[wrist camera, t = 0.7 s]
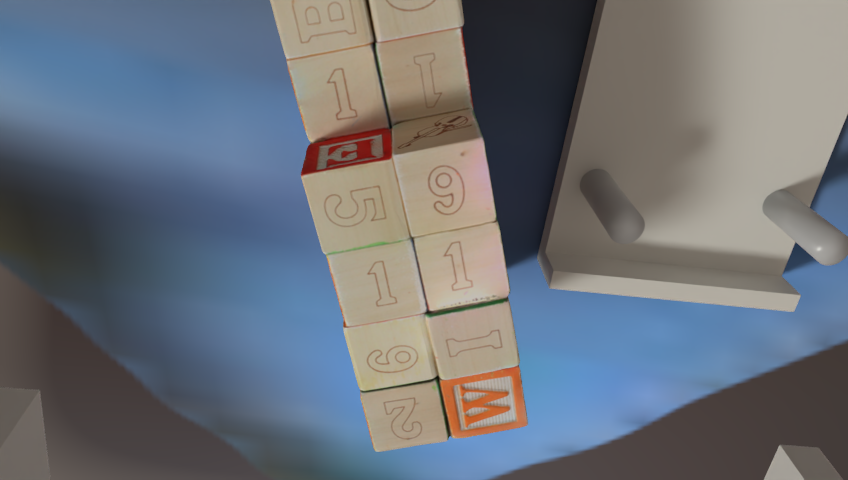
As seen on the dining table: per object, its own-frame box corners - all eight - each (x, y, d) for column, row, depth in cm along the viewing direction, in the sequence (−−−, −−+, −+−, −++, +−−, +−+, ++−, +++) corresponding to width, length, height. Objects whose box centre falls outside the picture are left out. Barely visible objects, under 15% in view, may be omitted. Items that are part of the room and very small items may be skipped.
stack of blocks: (274, -137, 30) (210, -147, 19) (423, -166, 30) (445, -193, 19) (376, 297, 39) (373, 459, 28) (489, 278, 39) (530, 433, 28)
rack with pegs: (670, -313, 28) (742, -361, 22) (976, -254, 29) (1116, -286, 24) (537, 258, 39) (562, 321, 33) (764, 281, 40) (825, 345, 34)
